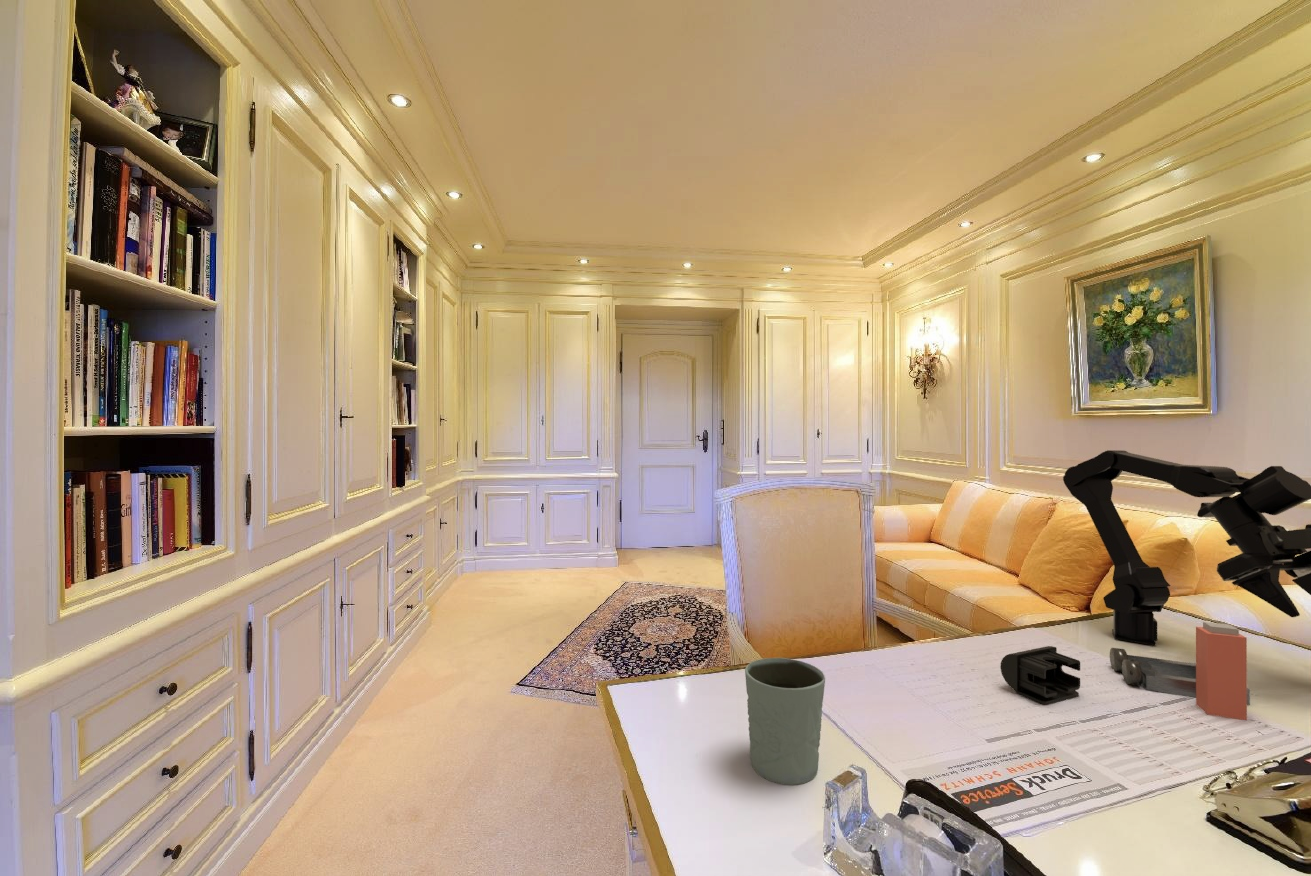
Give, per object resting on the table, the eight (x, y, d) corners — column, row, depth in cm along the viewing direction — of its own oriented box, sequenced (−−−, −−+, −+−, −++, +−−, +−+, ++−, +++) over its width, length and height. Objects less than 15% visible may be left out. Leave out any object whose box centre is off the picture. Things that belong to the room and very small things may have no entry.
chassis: (1109, 665, 103) (1109, 644, 103) (1216, 680, 97) (1215, 657, 97) (1130, 687, 94) (1130, 664, 94) (1249, 705, 88) (1249, 680, 88)
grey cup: (737, 777, 68) (738, 681, 68) (752, 736, 78) (752, 652, 78) (822, 796, 65) (822, 694, 65) (826, 750, 74) (827, 662, 74)
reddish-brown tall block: (1196, 704, 88) (1195, 620, 88) (1233, 710, 86) (1233, 624, 86) (1207, 714, 85) (1207, 627, 85) (1246, 720, 83) (1246, 631, 83)
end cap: (1038, 678, 97) (1038, 640, 97) (1082, 696, 91) (1082, 655, 91) (999, 688, 94) (999, 648, 94) (1042, 706, 87) (1042, 664, 87)
